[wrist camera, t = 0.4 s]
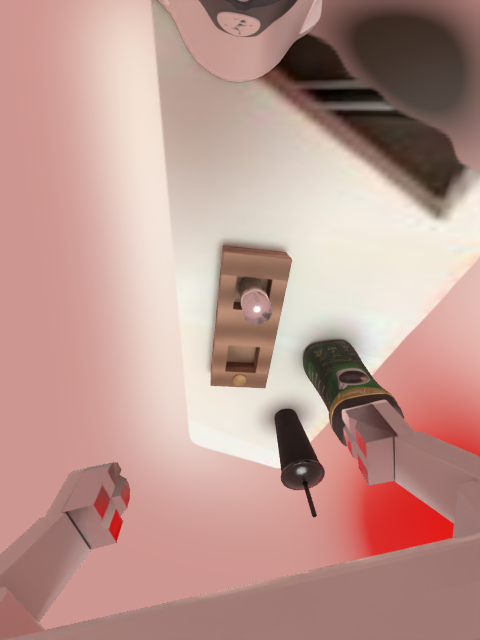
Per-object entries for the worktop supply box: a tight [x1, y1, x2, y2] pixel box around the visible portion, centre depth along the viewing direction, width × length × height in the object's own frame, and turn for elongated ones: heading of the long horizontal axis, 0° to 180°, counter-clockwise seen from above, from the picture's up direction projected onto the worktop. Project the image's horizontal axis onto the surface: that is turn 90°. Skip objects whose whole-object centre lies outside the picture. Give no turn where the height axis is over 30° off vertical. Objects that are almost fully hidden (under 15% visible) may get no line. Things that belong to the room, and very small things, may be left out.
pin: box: [238, 277, 273, 325], centre depth 42 cm, size 4×4×9 cm
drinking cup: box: [275, 409, 325, 517], centre depth 52 cm, size 8×8×20 cm
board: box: [211, 246, 292, 388], centre depth 47 cm, size 24×10×4 cm, turn 173°
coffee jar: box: [304, 341, 404, 446], centre depth 46 cm, size 10×8×19 cm
